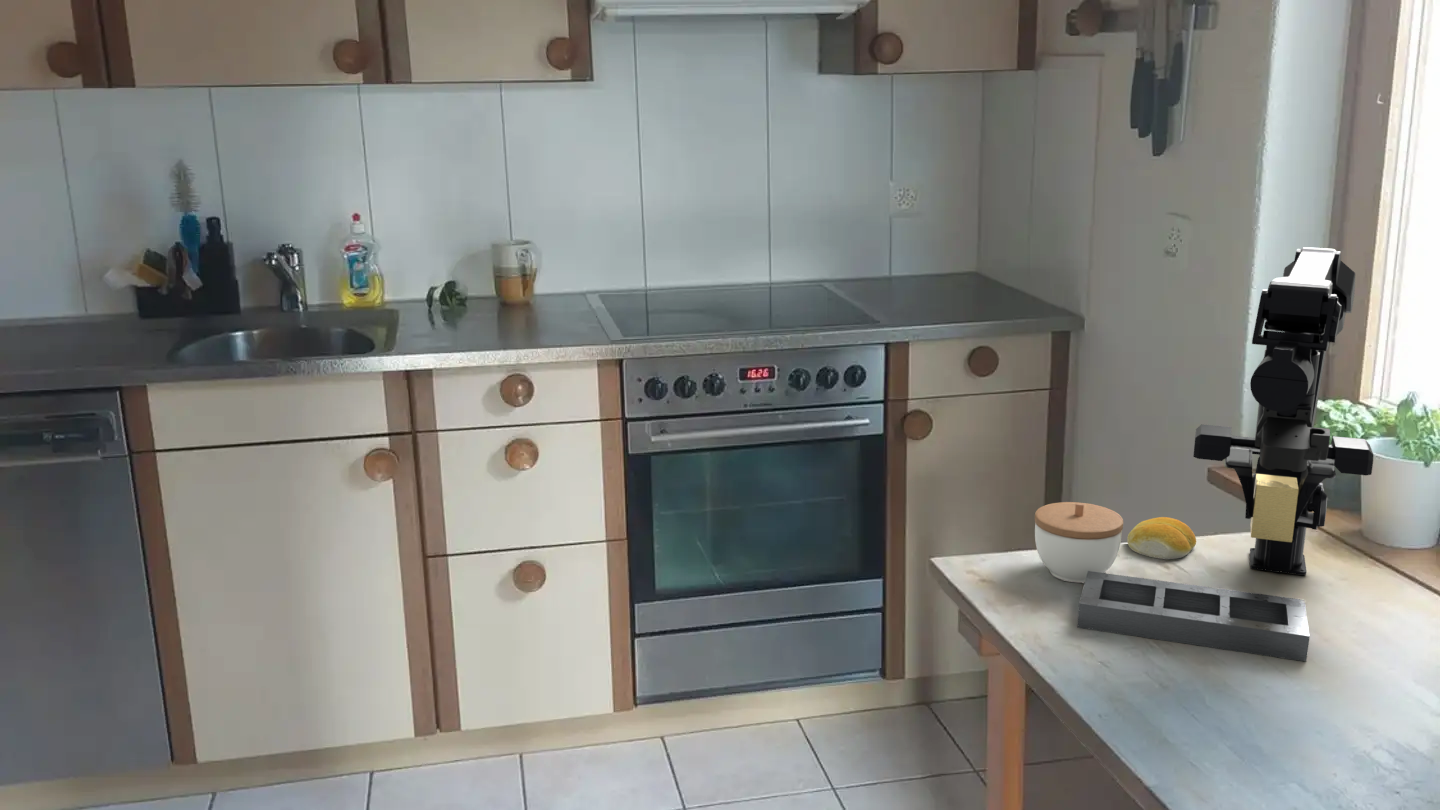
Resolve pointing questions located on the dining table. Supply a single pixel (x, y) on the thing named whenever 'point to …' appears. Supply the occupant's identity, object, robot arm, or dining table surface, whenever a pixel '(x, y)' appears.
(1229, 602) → the grey slotted tray
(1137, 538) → the bread roll
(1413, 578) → the dining table surface
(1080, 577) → the lidded jar
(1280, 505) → the brass block
